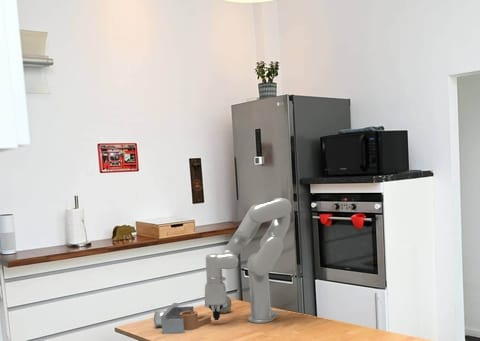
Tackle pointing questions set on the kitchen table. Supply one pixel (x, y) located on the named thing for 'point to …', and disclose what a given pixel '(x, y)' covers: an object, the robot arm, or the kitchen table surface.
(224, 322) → the kitchen table surface
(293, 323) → the kitchen table surface
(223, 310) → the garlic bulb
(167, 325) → the steel u-channel
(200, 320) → the bracket
